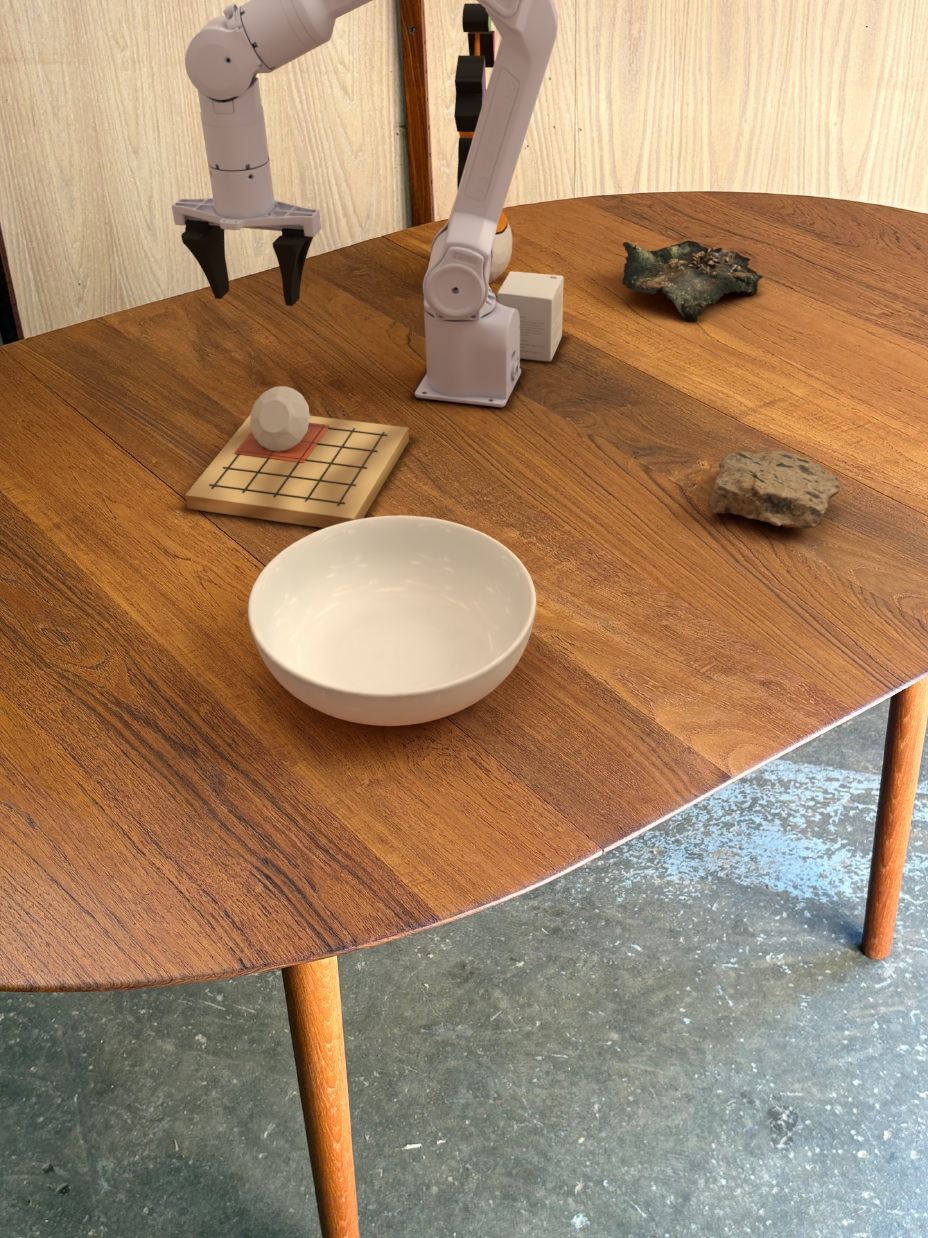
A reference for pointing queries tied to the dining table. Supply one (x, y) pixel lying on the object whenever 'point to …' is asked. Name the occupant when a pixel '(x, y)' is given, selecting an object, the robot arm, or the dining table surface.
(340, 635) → the serving bowl
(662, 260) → the decorative rock
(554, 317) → the product box
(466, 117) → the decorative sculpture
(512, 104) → the robot arm
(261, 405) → the gemstone
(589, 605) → the dining table surface
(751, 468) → the rock
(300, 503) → the board
